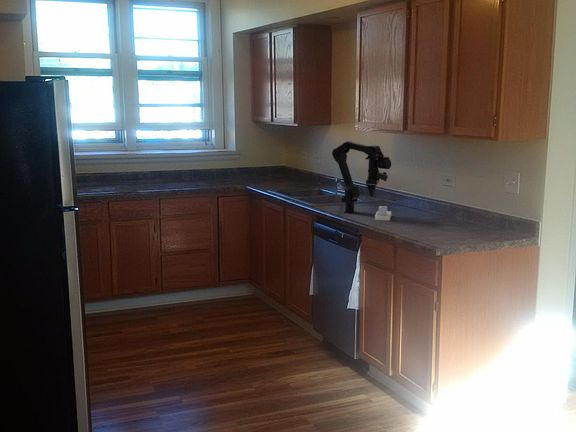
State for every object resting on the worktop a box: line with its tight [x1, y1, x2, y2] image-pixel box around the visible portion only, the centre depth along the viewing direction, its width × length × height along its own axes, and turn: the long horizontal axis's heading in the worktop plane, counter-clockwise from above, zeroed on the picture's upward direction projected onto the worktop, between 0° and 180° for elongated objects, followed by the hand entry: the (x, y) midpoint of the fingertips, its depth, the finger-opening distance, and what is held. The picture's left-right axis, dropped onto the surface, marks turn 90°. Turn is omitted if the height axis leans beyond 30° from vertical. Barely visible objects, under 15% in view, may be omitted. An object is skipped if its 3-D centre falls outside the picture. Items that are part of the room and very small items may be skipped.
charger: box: [378, 205, 388, 216], centre depth 361 cm, size 4×4×7 cm
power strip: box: [374, 210, 392, 221], centre depth 365 cm, size 16×8×3 cm, turn 168°
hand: (372, 194), depth 373 cm, fingers open, 9 cm apart
